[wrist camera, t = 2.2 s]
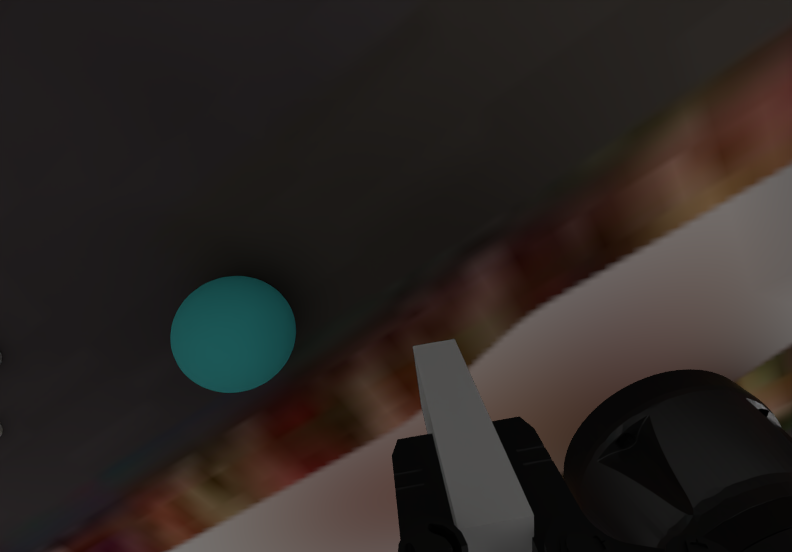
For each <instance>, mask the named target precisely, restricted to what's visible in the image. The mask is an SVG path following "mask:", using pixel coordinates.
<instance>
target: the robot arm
mask: <svg viewBox="0 0 792 552" xmlns="http://www.w3.org/2000/svg"><path fill="white" fill-rule="evenodd" d="M413 351H414V358H415V365H416V372H417V379H418V386H419V393H420V400H421V407H422V411H423V416H424V420H425V425H426V429H427V433H428V434H427V435H420V436H415V437H409V438H404V439H398V440H397V443H396V446H395V449H394V452H393V454H392V461H393V470H394V480H395V488H396V499H397V509H398V519H399V528H400V539H401V541H400V543H399V548H398V552H792V438H791V437H790V436H789V435H788V434H787V433H786V432H785V431H784V430H783V429H782V428H781V426H780V424H779V422H778V420H777V418H776V417H775V416H774V414H773V413H772V412H771V411H770V410H769V408H768V407H767V406H766V405H765V404H763V403H762V402H761V401H760V400H759V399H758V398H756V397H755V396H753V395H752V394H750V393H749V392H747V391H746V390H744V389H743V388H741V387H740V386H738V385H737V384H736V383H734V382H733V381H731V380H730V379H728V378H726V377H724V376H722V375H719V374H716V373H713V372H709V371H703V370H676V371H669V372H664V373H660V374H656V375H653V376H650V377H647V378H644V379H642V380H639V381H637V382H635V383H633V384H631V385H629V386H627V387H625V388H623V389H621V390H620V391H618V392H616V393H615V394H613V395H612V396H610V397H609V398H608V399H606V400H605V401H604V402H603V403H601V404H600V405H599V406H598V407H597V408H596V409H595V410H594V411H593V412H592V413H591V414H590V415H589V416H588V417H587V418H586V419H585V421H584V422H583V423H582V424H581V426H580V427H579V428H578V430H577V432H576V433H575V435H574V436H573V438H572V440H571V443H570V445H569V447H568V450H567V453H566V457H565V462H564V478H565V481H564V479H563V477H562V476H561V474H560V472H559V471H558V469H557V467H556V466H555V464H554V462H553V461H552V460H551V457H550V455H549V453H548V452H547V450H546V449H545V448H544V446H543V443H542V441H541V440H540V438H539V436H538V434H537V433H536V431H535V429H534V428H533V427H531V426H530V425H529V424H528V423H527V422H525V421H524V420H523V419H522V418H520V417H514V418H509V419H503V420H497V421H491V419H490V417H489V414H488V412H487V410H486V408H485V406H484V403H483V401H482V399H481V397H480V395H479V392H478V390H477V388H476V386H475V384H474V381H473V379H472V377H471V375H470V372H469V370H468V368H467V366H466V363H465V361H464V359H463V357H462V354H461V352H460V350H459V348H458V346H457V343H456V341H455V339H451V340H446V341H440V342H434V343H428V344H422V345H417V346H413ZM565 482H566V483H565Z"/></svg>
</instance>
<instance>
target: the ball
mask: <svg viewBox="0 0 792 552" xmlns="http://www.w3.org/2000/svg"><path fill="white" fill-rule="evenodd" d="M170 338H171V348H172V352H173V355H174V358H175V360H176V362H177V364H178V366H179V367H180V369H181V370H182V372H183V373H184V374H185V375H186V376H187V377H188V378H189V379H191V380H192V381H193V382H195V383H196V384H198V385H200V386H202V387H204V388H207V389H209V390H213V391H217V392H223V393H236V392H242V391H247V390H251V389H253V388H256V387H258V386H260V385H262V384H264V383H266V382H267V381H269V380H270V379H271V378H273V377H274V376H275V375H276V374H277V373H278V372H279V371H280V370H281V369H282V368H283V366H284V365H285V364H286V362H287V361H288V359H289V357H290V355H291V352H292V350H293V347H294V344H295V338H296V324H295V318H294V315H293V312H292V310H291V308H290V306H289V304H288V302H287V301H286V299H285V298H284V297H283V296H282V294H281V293H280V292H278V291H277V290H276V289H275V288H274V287H272V286H271V285H269V284H267V283H265V282H263V281H261V280H258V279H255V278H251V277H246V276H228V277H222V278H218V279H215V280H212V281H210V282H207V283H206V284H204V285H202V286H200V287H199V288H197V289H196V290H195V291H193V292H192V293H191V294H190V295H189V296H188V297H187V298H186V299H185V300H184V302H183V303H182V304H181V306H180V307H179V309H178V311H177V313H176V315H175V317H174V320H173V323H172V328H171V334H170Z"/></svg>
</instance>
